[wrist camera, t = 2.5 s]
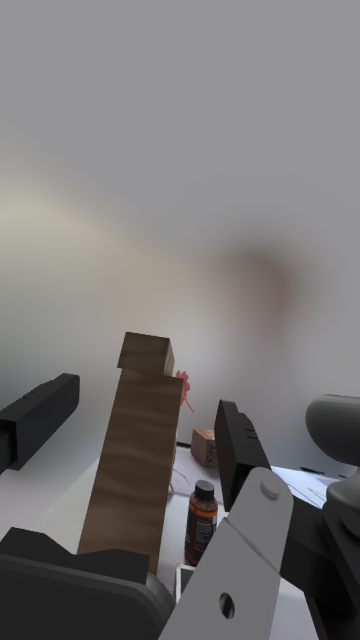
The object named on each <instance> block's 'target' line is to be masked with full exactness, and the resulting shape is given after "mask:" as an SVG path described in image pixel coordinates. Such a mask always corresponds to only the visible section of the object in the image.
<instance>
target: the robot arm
mask: <svg viewBox="0 0 360 640" xmlns="http://www.w3.org/2000/svg"><path fill="white" fill-rule="evenodd" d="M79 385H80V378H79V376H78V375H74V374H68V373H63V374H61V375H60V376H58V377H57V378H55V379H54V380H51V381H49V382H46V383H44V384H41V385H39V386H38V387H36V388H34V389H33V390H31V392H29V393H27V394H25V395H24V396H23V397H22V398H20V399H18V400H16V401H15V402H13V403H12V404H11V405H9V406H7V407H6V408H4V409H3V410H1V411H0V475H1V473H3V472H4V471H5V470H6V469H12V470H17V471H19V470H20V469H21V468H22V467H23V466H24V465H25V464H26V462H27V461H28V460H29V459H30V458H31V457H32V456H33V455H34V454H35V453H36V452H37V451H38V450H39V449H40V447H41V446H42V445H43V444H44V443H45V442H46V441H47V440H48V439H49V438H50V437H51V436H52V435H53V434H54V432H55V431H56V430H57V429H58V428H59V427H60V426H61V425H62V424H63V423H64V422H65V421H66V419H67V418H68V417H69V416H70V415H71V414H72V413H73V412H74V411H75V409H76V408H77V405H78V403H79V387H80V386H79ZM306 426H307V429H308V432H309V434H310V436H311V438H312V439H313V441H314V442H315V444H316V445H317V446H318V447H319V448H320V449H321V450H322V451H323V452H324V453H325V454H326V455H328V456H329V457H331V458H332V459H334V460H336V461H339V462H341V463H346V464H350V465H354V466H358V469H357V471H356V473H355V474H354V475H353V476H351V477H350V478H348V479H345V480H343V481H339V482H335V483H331V484H330V485H329V486H328V487H327V490H326V499H327V502H325V503H324V505H323V507H322V510H321V509H319V508H317V507H315V506H313V505H311V504H309V503H307V502H305V501H303V500H301V499H299V498H298V497H296V496H294V495H293V494H292V493H291V491H290V489H289V487H288V486H287V484H286V483H285V482H284V481H283V479H282V478H280V477H279V476H278V475H277V474H276V473H274V472H273V471H272V469H271V467H270V464H269V462H268V460H267V457H266V455H265V453H264V450H263V448H262V446H261V443H260V441H259V440H258V436H257V434H256V432H255V429H254V427H253V425H252V422H251V421H250V420H249V419H248V418H247V416H246V415H245V414H244V413H239V412H238V409H237V407H236V404H235V402H233V401H227V400H220V401H219V406H218V410H217V415H216V420H215V426H214V438H215V445H216V452H217V459H218V466H219V473H220V480H221V487H222V495H223V502H224V509H225V512H229V514H228V516H227V518H225V517H224V518H223V519H222V520H221V522H220V524H219V526H218V527H217V529H216V531H215V533H214V535H213V537H212V539H211V541H210V542H209V544H208V546H207V548H206V550H205V552H204V554H203V556H202V558H201V559H200V561H199V563H198V565H197V567H196V569H195V571H194V573H193V575H192V576H191V578H190V580H189V582H188V584H187V586H186V588H185V590H184V592H183V593H182V595H181V597H180V599H179V601H178V603H177V604H176V603H175V601H174V599H173V597H172V596H171V594H170V592H169V591H168V590H167V589H166V587H165V586H164V585H163V583H162V582H161V581H160V580H159V579H158V578H157V577H156V576H154V575H153V574H152V573H150V572H149V571H148V568H149V562H150V555H146V554H141V553H136V552H131V551H126V550H122V549H117V548H114V549H108V550H102V551H96V552H90V553H85V554H79V555H74V554H71V553H70V552H68V551H67V550H66V549H64V548H63V547H62V546H60V545H59V544H58V543H56V542H55V541H54V540H53V539H51V538H50V537H49V536H47V535H46V534H44V533H39V532H34V531H29V530H24V529H20V528H15V527H11V529H10V530H9V531H8V532H7V534H6V535H5V536H4V538H3V539H2V540H1V542H0V640H269V636H270V631H271V626H272V621H273V616H274V611H275V606H276V601H277V596H278V591H279V585H280V579H281V577H282V578H284V579H285V580H287V581H288V582H290V583H291V584H293V585H294V586H296V587H297V588H299V589H300V590H302V591H303V592H304V595H305V598H306V601H307V604H308V607H309V611H310V614H311V617H312V620H313V623H314V626H315V629H316V632H317V635H318V638H319V640H360V397H346V396H339V395H330V394H327V395H321V396H319V397H317V398H315V399H314V400H313V401H312V402H311V403H310V405H309V406H308V408H307V411H306Z"/></svg>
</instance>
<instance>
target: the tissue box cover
mask: <svg viewBox="0 0 360 640" xmlns="http://www.w3.org/2000/svg"><path fill="white" fill-rule="evenodd" d="M190 452H191V453H192V454H193V455H194V456H195V457H196V458H197V460H198V461H199V462H200V463H201V464H202V465H203V466H204V467H219V466H218V459H217V452H216V445H215V438H214V430H202V429H193V434H192V442H191V451H190Z"/></svg>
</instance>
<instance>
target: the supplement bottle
mask: <svg viewBox="0 0 360 640" xmlns="http://www.w3.org/2000/svg"><path fill="white" fill-rule="evenodd" d="M217 511H218V504H217V501H216V499H215V497H214V486H213V484H211V483H210V482H208V481H205V480H198V481H197V482H196V486H195V491H194V492H193V493H192V494H191V496H190V500H189V509H188V518H187V528H186V537H185V554H186V557H187V558H188V560H189V561H190V562H191V563H192V564H193V565H195V566H197V565H198V563H199V561H200V559H201V558H202V556H203V554H204V552H205V550H206V548H207V546H208V544H209V542H210V541H211V539H212V537H213V535H214V533H215V531H216V525H217Z"/></svg>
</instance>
